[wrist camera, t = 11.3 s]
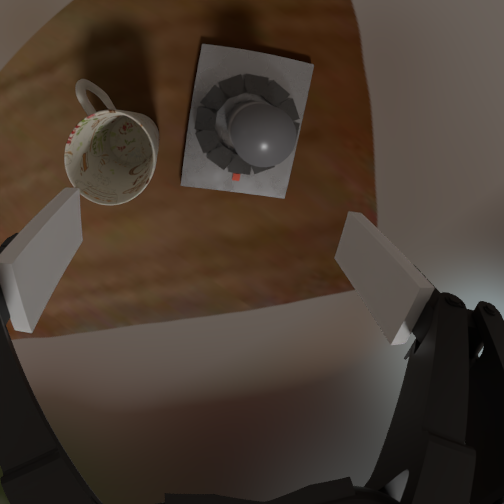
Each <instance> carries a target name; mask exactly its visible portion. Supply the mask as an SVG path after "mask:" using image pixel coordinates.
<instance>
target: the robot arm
mask: <svg viewBox="0 0 504 504" xmlns="http://www.w3.org/2000/svg"><path fill="white" fill-rule="evenodd" d="M82 241H83V239H82V227H81V213H80V193H79V188H64V189H63V190H62V191H61V192H60V193H59V194H58V195H57V196H56V197H55V198H53V199H52V200H51V201H50V202H49V203H48V204H47V205H46V206H45V207H44V208H43V209H42V210H41V211H40V212H39V213H38V214H37V215H36V216H35V217H34V218H33V219H32V220H31V221H30V222H29V223H28V224H27V225H26V226H25V227H24V228H23V229H22V230H21V232H20V233H15V234H14V235H12V236H11V237H9V238H7V239H6V240H5V241H4V242H3V244H2V245H1V247H0V466H1V468H2V471H3V476H2V477H1V484H2V487H3V490H4V492H5V494H6V496H7V498H8V500H9V502H10V504H103V503H102V502H101V501H100V500H99V499H98V497H97V496H96V495H95V494H94V492H93V491H92V490H91V488H90V487H89V486H88V484H87V483H86V481H85V480H84V479H83V477H82V476H81V475H80V473H79V471H78V470H77V469H76V467H75V466H74V464H73V462H72V461H71V459H70V458H69V456H68V455H67V453H66V452H65V450H64V448H63V447H62V445H61V443H60V442H59V440H58V438H57V437H56V435H55V433H54V431H53V430H52V428H51V426H50V424H49V422H48V421H47V419H46V417H45V415H44V413H43V411H42V409H41V407H40V405H39V403H38V401H37V399H36V397H35V396H34V393H33V391H32V389H31V387H30V385H29V382H28V380H27V378H26V376H25V373H24V371H23V369H22V366H21V364H20V361H19V359H18V357H17V354H16V351H15V349H14V346H13V344H12V341H11V338H10V335H9V333H8V330H7V327H6V324H7V322H8V320H9V318H10V319H11V321H12V324H13V327H14V329H15V330H17V331H22V332H28V333H32V332H33V330H34V328H35V326H36V324H37V322H38V320H39V318H40V316H41V314H42V312H43V310H44V308H45V306H46V304H47V302H48V300H49V298H50V297H51V295H52V293H53V291H54V289H55V287H56V286H57V284H58V282H59V280H60V278H61V277H62V275H63V273H64V271H65V270H66V268H67V266H68V264H69V263H70V261H71V259H72V258H73V256H74V254H75V253H76V251H77V249H78V248H79V246H80V244H81V243H82ZM335 260H336V261H337V263H338V264H339V266H340V267H341V269H342V270H343V272H344V273H345V275H346V276H347V278H348V279H349V281H350V282H351V284H352V285H353V287H354V288H355V290H356V291H357V293H358V294H359V296H360V297H361V299H362V300H363V302H364V303H365V305H366V307H367V308H368V310H369V311H370V313H371V314H372V316H373V317H374V319H375V321H376V322H377V324H378V325H379V327H380V329H381V330H382V332H383V333H384V335H385V336H386V338H387V340H388V341H389V343H390V345H396V344H405V343H406V341H407V339H408V338H409V335H410V334H411V332H413V334H414V335H415V337H416V339H415V341H414V343H413V344H412V346H411V348H410V349H409V351H408V353H407V354H406V356H405V357H404V359H407V358H408V357H409V360H408V364H407V368H406V372H405V376H404V381H403V384H402V388H401V391H400V395H399V398H398V402H397V405H396V408H395V412H394V415H393V418H392V421H391V424H390V428H389V430H388V433H387V436H386V439H385V442H384V445H383V448H382V450H381V453H380V456H379V458H378V461H377V464H376V466H375V468H374V471H373V473H372V475H371V477H370V479H369V481H368V482H367V483H366V484H365V486H364V487H359V486H353V485H352V482H351V479H350V477H346V478H342V479H338V480H333V481H328V482H324V483H318V484H313V485H309V486H306V487H304V488H301V489H299V490H297V491H294V492H292V493H289V494H287V495H284V496H281V497H279V498H276V499H273V500H271V501H267V502H259V501H251V500H244V499H237V498H231V497H226V496H220V495H215V494H205V495H204V494H166V493H165V502H163V503H157V504H504V320H503V318H502V316H501V314H500V312H499V311H498V310H497V309H496V308H495V306H494V305H492V304H490V303H487V302H484V301H480V302H479V303H478V304H477V306H476V308H475V310H469V309H466V306H465V304H464V303H463V301H462V300H461V299H459V298H458V297H457V296H455V295H453V294H450V293H445V292H443V293H440V292H439V291H438V290H437V289H436V288H435V287H434V285H432V283H431V282H430V281H429V280H428V279H426V277H425V276H424V275H423V274H422V273H421V272H420V270H419V269H418V268H416V266H415V265H413V264H412V263H411V262H410V261H409V260H408V259H407V258H406V257H405V256H404V255H403V254H402V252H401V251H400V250H398V248H396V247H395V245H394V244H393V243H392V242H391V241H390V240H389V239H387V237H386V236H385V235H383V234H382V233H381V232H380V231H379V230H378V229H377V228H376V227H375V226H374V225H373V224H372V223H371V222H370V221H369V220H368V219H367V218H366V217H365V216H364V215H363V214H362V213H356V212H348V215H347V219H346V222H345V226H344V229H343V232H342V236H341V239H340V242H339V245H338V249H337V252H336V255H335ZM483 346H484V348H483ZM482 348H483V352H482V354H481V356H480V357H478V353H479V352H480V351H481V349H482Z"/></svg>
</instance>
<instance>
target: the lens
mask: <svg viewBox="0 0 504 504" xmlns="http://www.w3.org/2000/svg"><path fill="white" fill-rule="evenodd" d="M227 129H228V133H229V136H230V139H231V142H232V144H233V146H234V148H235V150H236V152H237V153H238V155H239V156H240V157H241V158H242V159H243V160H244V161H245V162H247V163H249V164H251V165H253V166H257V167H271V166H275V165H277V164H279V163H281V162H283V161H284V160H285V159H286V158H287V157H288V156H289V155H290V154H291V152H292V151H293V149H294V147H295V143H296V135H297V134H296V128H295V125H294V123H293V121H292V119H291V118H290V116H289V115H288V114H287V113H286V112H284V111H283V110H281V109H279V108H277V107H274V106H272V105H269V104H266V103H263V102H257V101H252V100H249V101H243V102H241V103H239V104H237V105H235V106H234V107H233V108H232V109H231V111H230V112H229V114H228V117H227Z"/></svg>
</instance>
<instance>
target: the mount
mask: <svg viewBox="0 0 504 504" xmlns="http://www.w3.org/2000/svg"><path fill="white" fill-rule="evenodd" d="M313 68H314V65H313V64H309V63H306V62H302V61H297V60H293V59H289V58H285V57H280V56H275V55H271V54H266V53H261V52H255V51H250V50H244V49H238V48H231V47H224V46H217V45H209V44H202V48H201V53H200V58H199V63H198V69H197V74H196V80H195V86H194V92H193V98H192V104H191V111H190V117H189V124H188V131H187V139H186V146H185V154H184V162H183V170H182V179H181V186H187V187H197V188H206V189H215V190H223V191H231V192H239V193H247V194H255V195H262V196H270V197H277V198H284V199H285V194H286V190H287V186H288V181H289V177H290V173H291V168H292V164H293V159H294V155H295V150H296V146H297V141H298V137H299V132H300V128H301V123H302V119H303V114H304V110H305V105H306V100H307V96H308V91H309V86H310V82H311V77H312V72H313ZM249 100H252V101H257V102H263V103H266V104H269V105H272V106H274V107H277V108H279V109H281V110H283V111H284V112H286V113H287V114H288V115H289V116H290V118H291V119H292V121H293V123H294V125H295V128H296V134H297V135H296V143H295V147H294V149H293V151H292V152H291V154H290V155H289V156H288V157H287V158H286V159H285V160H284V161H283V162H281V163H279V164H277V165H275V166H271V167H257V166H253V165H251V164H249V163H247V162H245V161H244V160H243V159H242V158H241V157H240V156H239V155H238V153H237V152H236V150H235V148H234V146H233V144H232V142H231V139H230V136H229V133H228V129H227V117H228V114H229V112H230V111H231V109H232V108H233V107H234V106H235V105H237V104H239V103H241V102H243V101H249Z"/></svg>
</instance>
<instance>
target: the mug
mask: <svg viewBox="0 0 504 504" xmlns="http://www.w3.org/2000/svg"><path fill="white" fill-rule="evenodd" d="M86 89H87V90H89V91H91V92H92V93H94V94H95V95H97V96H98V97H99V98H100V99H101V100H102V102H103V103H104V104H105V105H106V107H107V108H108V109H109V110H102V111H98V112H96V110H95V109H94V107H93V106H92V104H91V103H90V101H89V100H88V98H87V95H86ZM76 95H77V98H78V100H79V102H80V104H81V105H82V107H83V108H84V110H85V112H86V113H87V115H88V116H87V117H85V118H84V119H83V120H82V121H80V122H79V123H78V124H77V126H76V127H75V128H74V129H73V131H72V132H71V134H70V136H69V138H68V141H67V143H66V147H65V155H64V161H65V168H66V172H67V175H68V177H69V180H70V182H71V183H72V185H73V186H74V188H79V193H80V194H81V195H82V196H84V197H85V198H87V199H88V200H90V201H92V202H95V203H98V204H102V205H118V204H122V203H125V202H127V201H130V200H131V199H133V198H135V197H136V196H137V195H139V194H140V193H141V192H142V191H143V190H144V189H145V187H146V186H147V185H148V183H149V182H150V180H151V178H152V175H153V173H154V170H155V166H156V160H157V153H158V147H159V132H158V129H157V126H156V125H155V123H154V122H153V121H152V120H151V119H150V118H149V117H147V116H146V115H144V114H141V113H136V112H130V111H123V110H116V108H115V107H114V105H113V103H112V101H111V100H110V98H109V96H108V95H107V94H106V93H105V92H104V91H103V90H102V89H101V88H99V87H98V86H97V85H95V84H94V83H92V82H91V81H89V80H86V79H80V80H78V82H77V83H76Z"/></svg>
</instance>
